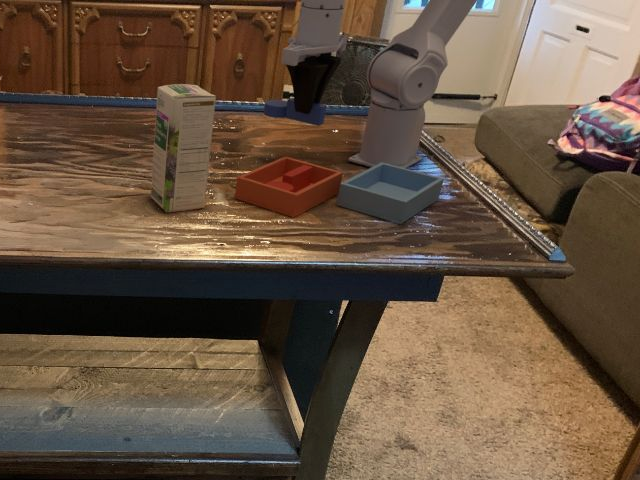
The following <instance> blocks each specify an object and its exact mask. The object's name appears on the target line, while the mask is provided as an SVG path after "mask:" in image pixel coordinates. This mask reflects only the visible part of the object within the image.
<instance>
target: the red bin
mask: <svg viewBox="0 0 640 480" xmlns="http://www.w3.org/2000/svg"><path fill="white" fill-rule="evenodd" d="M303 165H307V166H311V167H313V169H312V175H311V181H310V185H309V186H307V187H305V188H303V189H301V190H299V191H297V192H295V193H293V192H290V191H287V190H284V189H280V188H277V187H274V186H270V185H267V184H266V183H268V182H272V181H280V182H282V179H283V174H285V173H287V172H289V171H292V170H294V169H296V168H298V167H300V166H303ZM343 174H344V172H343V171H339V170H335V169H332V168H328V167H326V166H322V165H318V164H315V163H310V162H307V161H304V160H300V159H295V158H292V157H289V156H285V155H284V156H283V157H281V158H279V159H276V160H274V161H271V162H268V163H267V164H264V165H262V166H260V167H257V168H255V169H253V170H251V171H248V172H246V173H243V174H241V175H239V176H237V177H236V184H235V185H236V186H235V195H234V199H235V200H238V201H241V202H245V203H248V204H250V205H253V206H257V207H260V208H263V209H266V210H269V211H272V212H275V213H278V214H281V215H284V216H288V217H290V218H296V217H297V216H299V215H302V214H303V213H305V212H306V211H308V210H310V209H312V208H315V207H316V206H318V205H319V204H320V205H321V203H322V204H323V202H325V201H327V200H329V199H331V198H333V197H334V196H335V197H336V195H337V196H338V194H339V189H340V184H341V183H342V179H343Z"/></svg>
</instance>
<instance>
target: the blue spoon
mask: <svg viewBox="0 0 640 480" xmlns="http://www.w3.org/2000/svg"><path fill="white" fill-rule="evenodd" d="M326 111H327V105H326V104H322V103H319V104H318V103H313V106H312V109H311V111H310V113H309V114H304V113H300V112H296V111H295V105H294V97H291V98H288V99H287V100H283V99H269V100H266V101H265V102H264V107H263V115H264V116H266V117H269V118H274V119H284V118H285V119H289V120H292V121H297V122H301V123H305V124H309V125H313V126H317V127H320V126H322V125H324V122H325V119H326Z"/></svg>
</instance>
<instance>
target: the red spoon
mask: <svg viewBox="0 0 640 480" xmlns="http://www.w3.org/2000/svg"><path fill="white" fill-rule="evenodd" d="M312 169H313V167H311V166H307V165H303V166H300V167H298V168H296V169H294V170H292V171H289V172H287V173H285V174H283V179H282V182H280V181H272V182H268V183H266V184H267V185H270V186H274V187H277V188H280V189H284V190H287V191H290V192H293V193H295V192H297V191H299V190H301V189H303V188H305V187H307V186H309V185H310V181H311V175H312Z"/></svg>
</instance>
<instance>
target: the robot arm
mask: <svg viewBox="0 0 640 480" xmlns="http://www.w3.org/2000/svg"><path fill="white" fill-rule="evenodd" d="M477 2H478V0H429V1H428V2H427V3H426V5H425V6H424V7H423V9H422V11H421V12H420V14H419V15H418V17H417V18H416V20H415V21H414V23H413V24H412V26H410V27H409V28H407V29H405V30H403V31H401V32H400V33H397V34H396V35H395V36H393V37H392V39H391V40H390V42H389V43H388V44H387V46H385V47H384V48H383V49H382V50H380V51H378V52H377V54H375V55H374V56H373V58H371V61H370V62H369V63H368V67H367V70H366V81H367V84H368V86H369V87H370V89H371V92H370V98H371V99H370V103H369V108H368V113H367V116H366V117H367V118H366V123H365V126H364V132H363V136H362V140H361V141H362V142H361V146H360V150H359V151H360V152H358V153H356V154H354V155H352V156H350V157H349V158H348V162H350V163H354V164H358V165H361V166H365V167H369V168H371V167H373V166H375V165H377V164H379V163H381V162H383V163H387V164H391V165H394V166H398V167H402V168H406V169H408V168H410V167H411V166H413V165H414V164H417V163H418V162H420V161H421V160H423V159H422V158H423V157H422V156H421V155H417V154H418V149H419V145H420V142H421V139H422V134H423V130H424V127H425V121H426V111H425V110H426V109H425V108H424V107H425V104H426V103H427V102H428V101H430V100H431V98H432V97H433V96H434V94H435V92H436V91H437V88H438V85H439V83H440V78H441V76H442V75H443V73H444V71H445V69H446V68H447V67H448V65H449V64H448V57H447V51H446V47H447V45H448V43H449V42H450V40H451V39H452V37H453V36H454V35H455V34H456V32H457V30H458V29H459V28H460V26H461V25H462V24H463V22H464V20H465V19H466V17H467V16H468V15H469V13H470V12H471V11H472V9H473V7H474V6H475V5H476V3H477ZM345 6H346V0H301V1H300V6H299V7H300V8H299V15H298V22H297V28H296V34H295V35H296V36H291V37H289V38H288V42H287V43H288V44H289V45H288V46H287V47H283V48H282V52H281V53H282V54H281V55H282V56H281V62H280V64H282V65H285V66H286V68H287V70H288V74H289V76H290V81H291V83H292V84H291V85H292V92H293V93H292V94H293V98H294V105H295V111H296V112H300V113H304V114H309V113H310V111H311V109H312V106H313V103H318V104H321V101H322V98H323V95H324V93H325V91H326V89H327V86H328V84H329V82H330V80H331V78H332V76H333V75H334V73H335V72H336V70H337V69H338V68H339V66H340V65H341V62H342V58H341V57H340V56H334V55H332V53H335V52H345V51H346V47H347V44H348V35H344V34H341V30H342V29H341V28H342V24H343V16H344V11H345Z"/></svg>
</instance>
